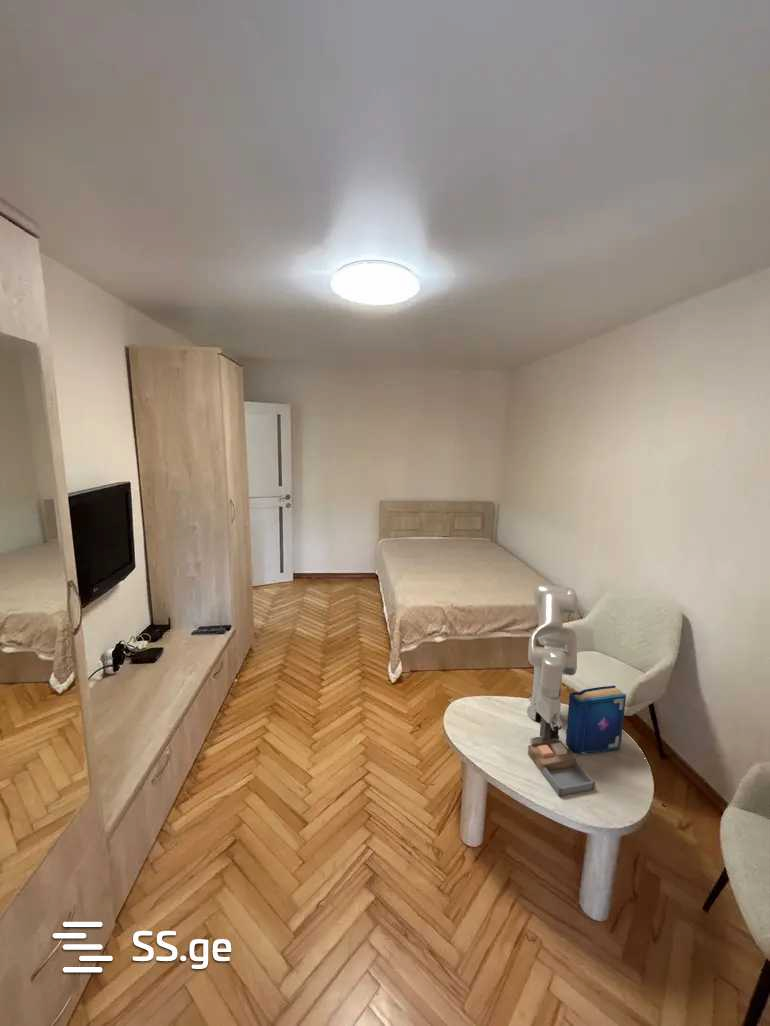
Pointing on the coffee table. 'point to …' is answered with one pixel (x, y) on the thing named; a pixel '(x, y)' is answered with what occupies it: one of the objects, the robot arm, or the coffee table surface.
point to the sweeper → (543, 734)
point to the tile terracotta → (545, 751)
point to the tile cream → (559, 748)
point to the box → (569, 780)
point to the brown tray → (551, 758)
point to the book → (595, 720)
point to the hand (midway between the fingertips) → (546, 729)
